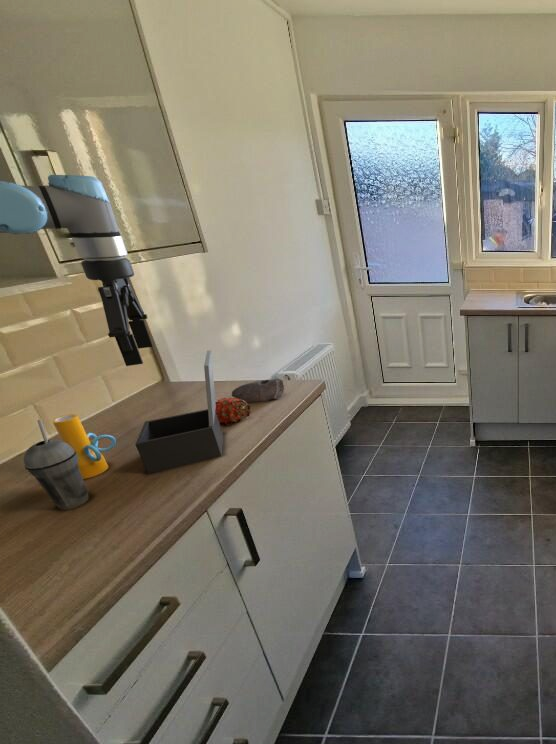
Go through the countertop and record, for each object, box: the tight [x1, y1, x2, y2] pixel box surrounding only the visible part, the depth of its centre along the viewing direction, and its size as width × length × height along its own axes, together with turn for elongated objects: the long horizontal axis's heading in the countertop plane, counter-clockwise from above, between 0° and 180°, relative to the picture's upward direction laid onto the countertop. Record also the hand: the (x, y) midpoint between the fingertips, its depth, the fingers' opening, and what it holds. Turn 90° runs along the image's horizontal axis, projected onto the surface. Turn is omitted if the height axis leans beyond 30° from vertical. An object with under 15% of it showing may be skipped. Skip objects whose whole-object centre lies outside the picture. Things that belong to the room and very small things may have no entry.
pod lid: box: [203, 350, 216, 426], centre depth 103 cm, size 16×13×1 cm
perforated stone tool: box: [231, 378, 285, 404], centre depth 133 cm, size 15×5×7 cm, turn 107°
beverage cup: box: [23, 419, 90, 511], centre depth 84 cm, size 7×7×20 cm
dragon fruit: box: [215, 396, 252, 426], centre depth 120 cm, size 8×8×12 cm
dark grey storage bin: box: [135, 408, 224, 475], centre depth 104 cm, size 15×13×9 cm
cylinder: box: [51, 413, 117, 480], centre depth 95 cm, size 12×10×15 cm
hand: (140, 355), depth 94 cm, fingers open, 13 cm apart
